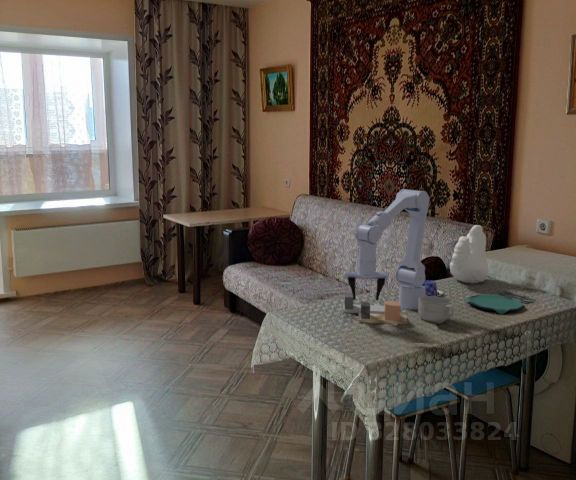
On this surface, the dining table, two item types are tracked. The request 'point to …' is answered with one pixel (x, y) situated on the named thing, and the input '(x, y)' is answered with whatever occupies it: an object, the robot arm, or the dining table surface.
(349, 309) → the grey strip
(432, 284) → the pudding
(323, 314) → the dining table surface
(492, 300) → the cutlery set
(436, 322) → the teacup
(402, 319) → the tan shallow tray
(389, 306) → the terracotta cube
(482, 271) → the decorative rooster
